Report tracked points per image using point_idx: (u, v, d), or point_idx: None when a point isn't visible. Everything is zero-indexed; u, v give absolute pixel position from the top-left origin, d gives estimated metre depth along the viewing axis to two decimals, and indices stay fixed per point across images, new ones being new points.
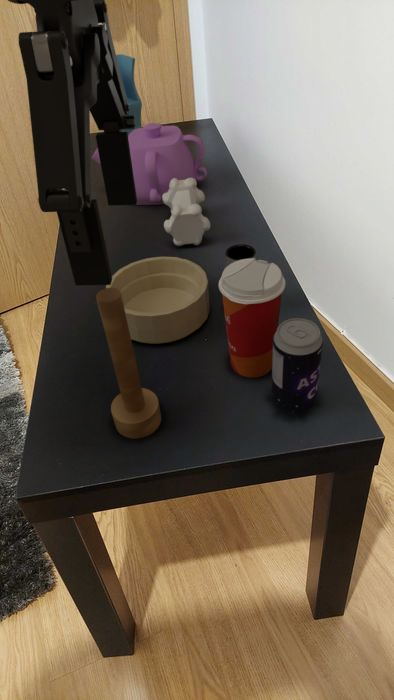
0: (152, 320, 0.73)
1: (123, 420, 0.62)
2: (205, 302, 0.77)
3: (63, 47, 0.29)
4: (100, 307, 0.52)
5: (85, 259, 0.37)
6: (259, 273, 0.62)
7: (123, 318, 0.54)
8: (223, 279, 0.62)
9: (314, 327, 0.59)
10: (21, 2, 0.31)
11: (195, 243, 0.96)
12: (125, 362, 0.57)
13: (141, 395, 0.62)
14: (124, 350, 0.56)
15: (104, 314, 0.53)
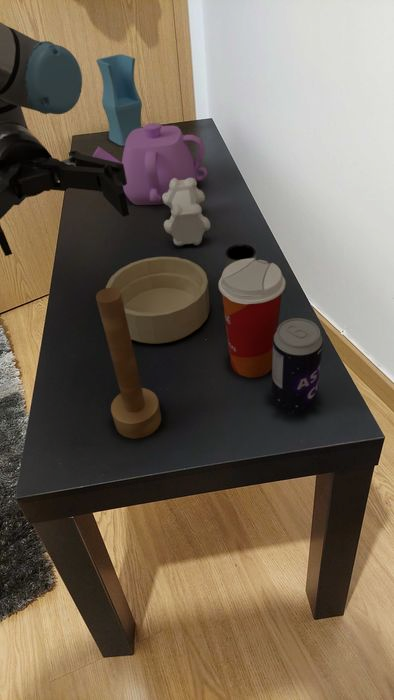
0: (152, 320, 0.73)
1: (123, 420, 0.62)
2: (205, 302, 0.77)
3: None
4: (100, 307, 0.52)
5: None
6: (259, 273, 0.62)
7: (123, 318, 0.54)
8: (223, 279, 0.62)
9: (314, 327, 0.59)
10: (40, 150, 0.66)
11: (195, 243, 0.96)
12: (125, 362, 0.57)
13: (141, 395, 0.62)
14: (124, 350, 0.56)
15: (104, 314, 0.53)
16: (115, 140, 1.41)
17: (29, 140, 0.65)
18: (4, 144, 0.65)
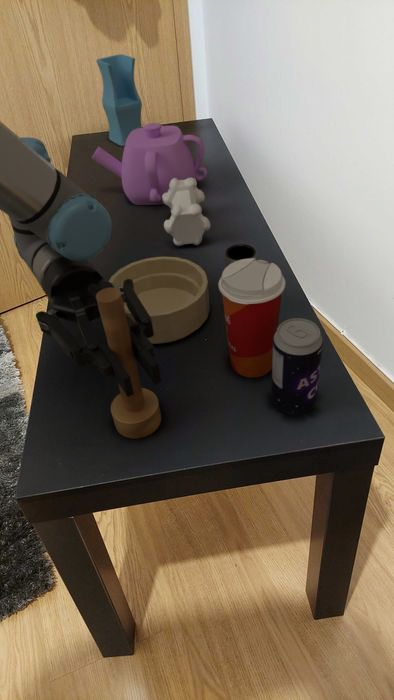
0: (152, 320, 0.73)
1: (123, 420, 0.62)
2: (205, 302, 0.77)
3: None
4: (100, 307, 0.52)
5: None
6: (259, 273, 0.62)
7: (123, 318, 0.54)
8: (223, 279, 0.62)
9: (314, 327, 0.59)
10: (92, 273, 0.67)
11: (195, 243, 0.96)
12: (125, 362, 0.57)
13: (141, 395, 0.62)
14: (124, 350, 0.56)
15: (104, 313, 0.53)
16: (115, 140, 1.41)
17: (82, 265, 0.66)
18: (58, 270, 0.65)
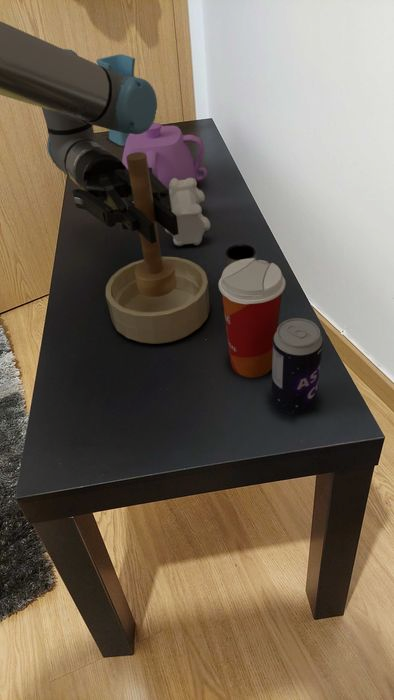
0: (152, 320, 0.73)
1: (145, 278, 0.74)
2: (205, 302, 0.77)
3: None
4: (129, 166, 0.65)
5: None
6: (259, 273, 0.62)
7: (148, 178, 0.66)
8: (223, 279, 0.62)
9: (314, 327, 0.59)
10: (118, 163, 0.79)
11: (195, 243, 0.96)
12: None
13: (160, 257, 0.74)
14: (148, 209, 0.68)
15: (132, 172, 0.65)
16: (115, 140, 1.41)
17: (110, 155, 0.78)
18: (89, 158, 0.78)
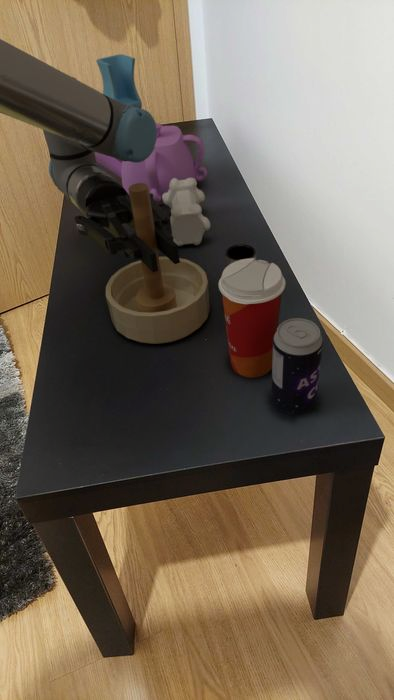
0: (152, 320, 0.73)
1: (147, 304, 0.75)
2: (205, 302, 0.77)
3: None
4: (132, 197, 0.66)
5: None
6: (259, 273, 0.62)
7: (150, 208, 0.67)
8: (223, 279, 0.62)
9: (314, 327, 0.59)
10: (119, 188, 0.80)
11: (195, 243, 0.96)
12: None
13: (161, 283, 0.75)
14: (149, 238, 0.69)
15: (134, 203, 0.66)
16: None
17: (111, 181, 0.79)
18: (91, 184, 0.79)
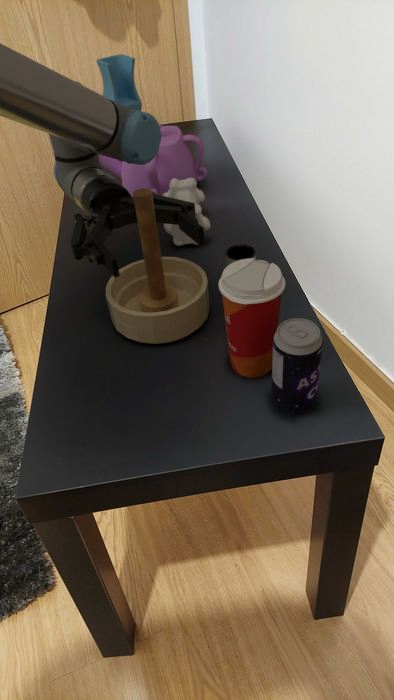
0: (152, 320, 0.73)
1: (150, 305, 0.78)
2: (205, 302, 0.77)
3: None
4: (136, 202, 0.68)
5: None
6: (259, 273, 0.62)
7: (153, 213, 0.69)
8: (223, 279, 0.62)
9: (314, 327, 0.59)
10: (123, 191, 0.82)
11: (195, 243, 0.96)
12: (153, 252, 0.73)
13: (164, 285, 0.78)
14: (153, 241, 0.72)
15: (139, 207, 0.68)
16: None
17: (115, 183, 0.81)
18: (95, 186, 0.81)
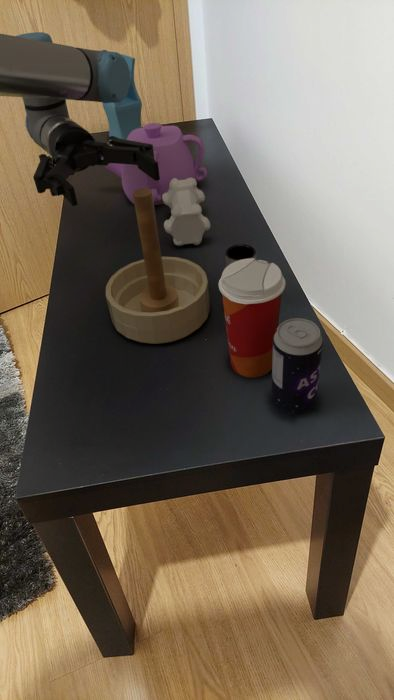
0: (152, 320, 0.73)
1: (150, 305, 0.78)
2: (205, 302, 0.77)
3: None
4: (136, 202, 0.68)
5: None
6: (259, 273, 0.62)
7: (153, 213, 0.69)
8: (223, 279, 0.62)
9: (314, 327, 0.59)
10: (87, 135, 0.87)
11: (195, 243, 0.96)
12: (153, 252, 0.73)
13: (164, 285, 0.78)
14: (153, 241, 0.72)
15: (139, 207, 0.68)
16: None
17: (79, 127, 0.86)
18: (60, 130, 0.86)
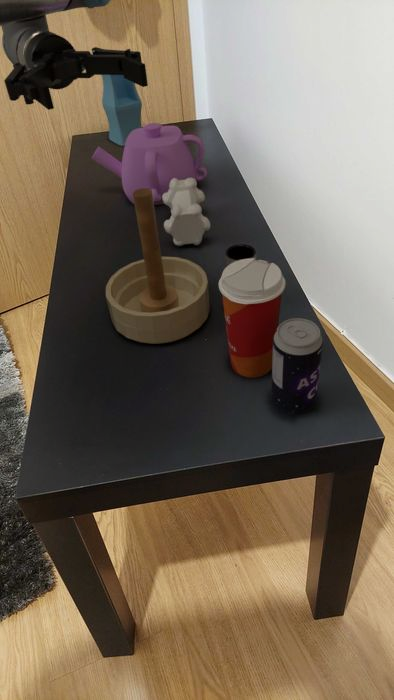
0: (152, 320, 0.73)
1: (150, 305, 0.78)
2: (205, 302, 0.77)
3: None
4: (136, 202, 0.68)
5: None
6: (259, 273, 0.62)
7: (153, 213, 0.69)
8: (223, 279, 0.62)
9: (314, 327, 0.59)
10: (67, 45, 0.78)
11: (195, 243, 0.96)
12: (153, 252, 0.73)
13: (164, 285, 0.78)
14: (153, 241, 0.72)
15: (139, 207, 0.68)
16: (115, 140, 1.41)
17: (59, 36, 0.77)
18: (37, 38, 0.77)
